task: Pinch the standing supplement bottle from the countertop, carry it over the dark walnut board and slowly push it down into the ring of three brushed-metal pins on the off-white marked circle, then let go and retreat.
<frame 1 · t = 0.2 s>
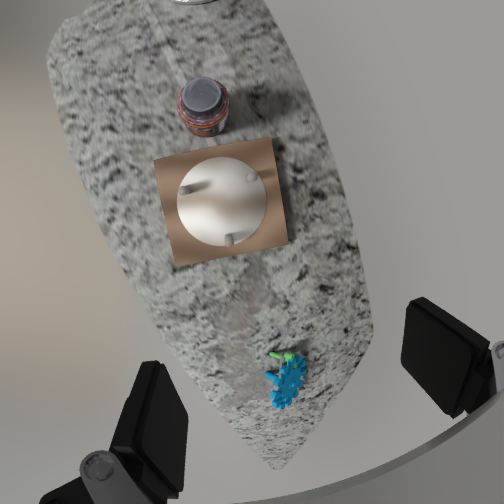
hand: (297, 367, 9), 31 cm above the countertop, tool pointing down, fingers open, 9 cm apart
pin board: (221, 201, 37), on the countertop
gear: (284, 366, 46), on the countertop
supplement bottle: (206, 118, 34), on the countertop
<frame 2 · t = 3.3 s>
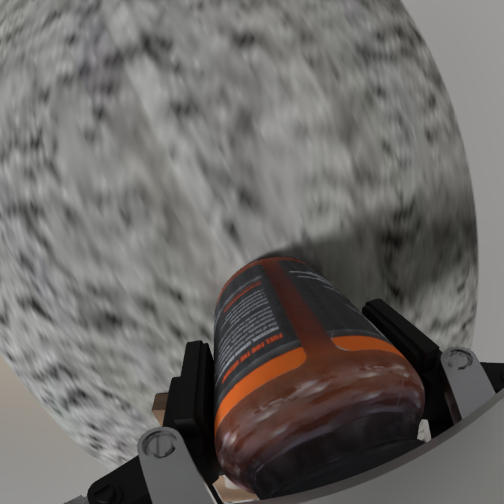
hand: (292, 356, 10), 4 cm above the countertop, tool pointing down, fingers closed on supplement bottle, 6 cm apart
pin board: (294, 441, 17), on the countertop
supplement bottle: (273, 308, 14), on the countertop, touching gripper
when the fingers open (7 cm above the countertop, at t = 7.8 s): supplement bottle stays where it is, resting on pin board.
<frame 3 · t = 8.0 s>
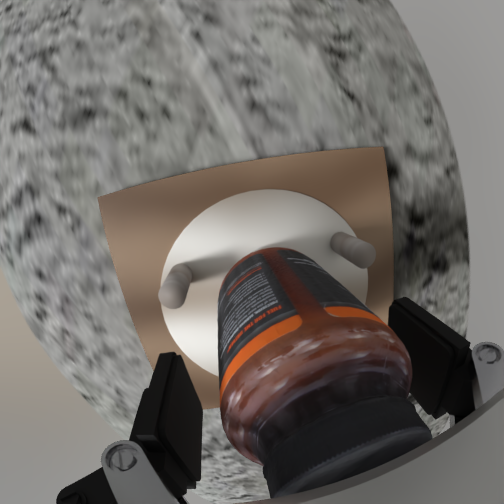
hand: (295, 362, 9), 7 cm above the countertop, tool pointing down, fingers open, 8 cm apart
pin board: (265, 290, 16), on the countertop
supplement bottle: (272, 296, 15), point 1 cm above the countertop, touching pin board
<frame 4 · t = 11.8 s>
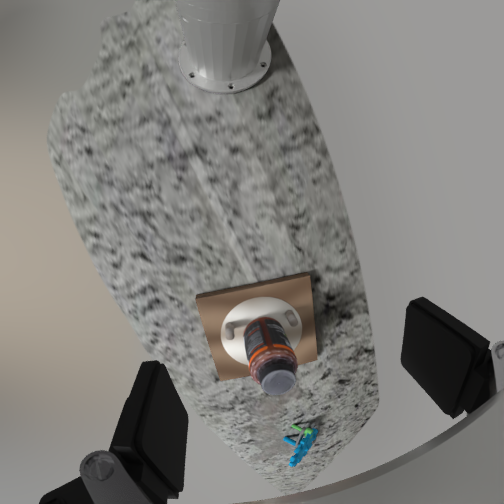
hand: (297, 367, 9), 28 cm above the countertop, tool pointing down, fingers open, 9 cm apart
pin board: (260, 329, 40), on the countertop
gear: (300, 433, 48), on the countertop
supplement bottle: (262, 332, 39), point 1 cm above the countertop, touching pin board
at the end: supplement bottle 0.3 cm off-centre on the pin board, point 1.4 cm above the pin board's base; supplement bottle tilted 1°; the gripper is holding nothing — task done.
